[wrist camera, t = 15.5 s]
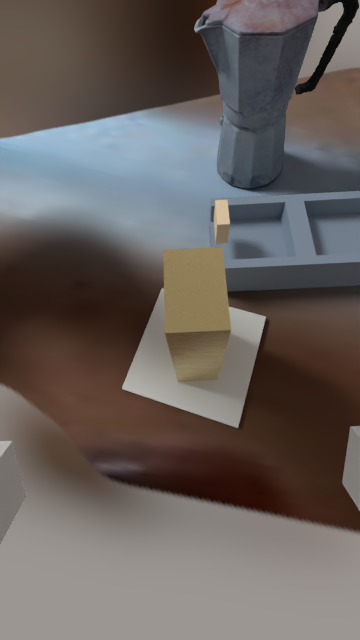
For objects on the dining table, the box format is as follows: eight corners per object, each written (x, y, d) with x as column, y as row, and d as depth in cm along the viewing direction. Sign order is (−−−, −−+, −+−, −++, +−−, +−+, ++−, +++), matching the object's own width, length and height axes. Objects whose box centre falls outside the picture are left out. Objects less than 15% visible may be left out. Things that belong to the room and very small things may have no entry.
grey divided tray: (214, 292, 37) (218, 251, 29) (209, 228, 40) (212, 177, 33) (438, 281, 36) (501, 236, 28) (413, 217, 39) (464, 162, 32)
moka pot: (186, 153, 45) (179, -53, 27) (288, 128, 46) (349, -88, 28) (207, 203, 42) (215, 4, 23) (317, 174, 43) (410, -39, 24)
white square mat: (122, 389, 33) (121, 388, 32) (162, 290, 37) (161, 288, 36) (237, 428, 31) (238, 428, 30) (265, 318, 35) (266, 316, 34)
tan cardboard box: (177, 381, 32) (164, 333, 19) (176, 326, 35) (163, 250, 22) (217, 380, 32) (231, 329, 19) (213, 324, 34) (222, 247, 22)
